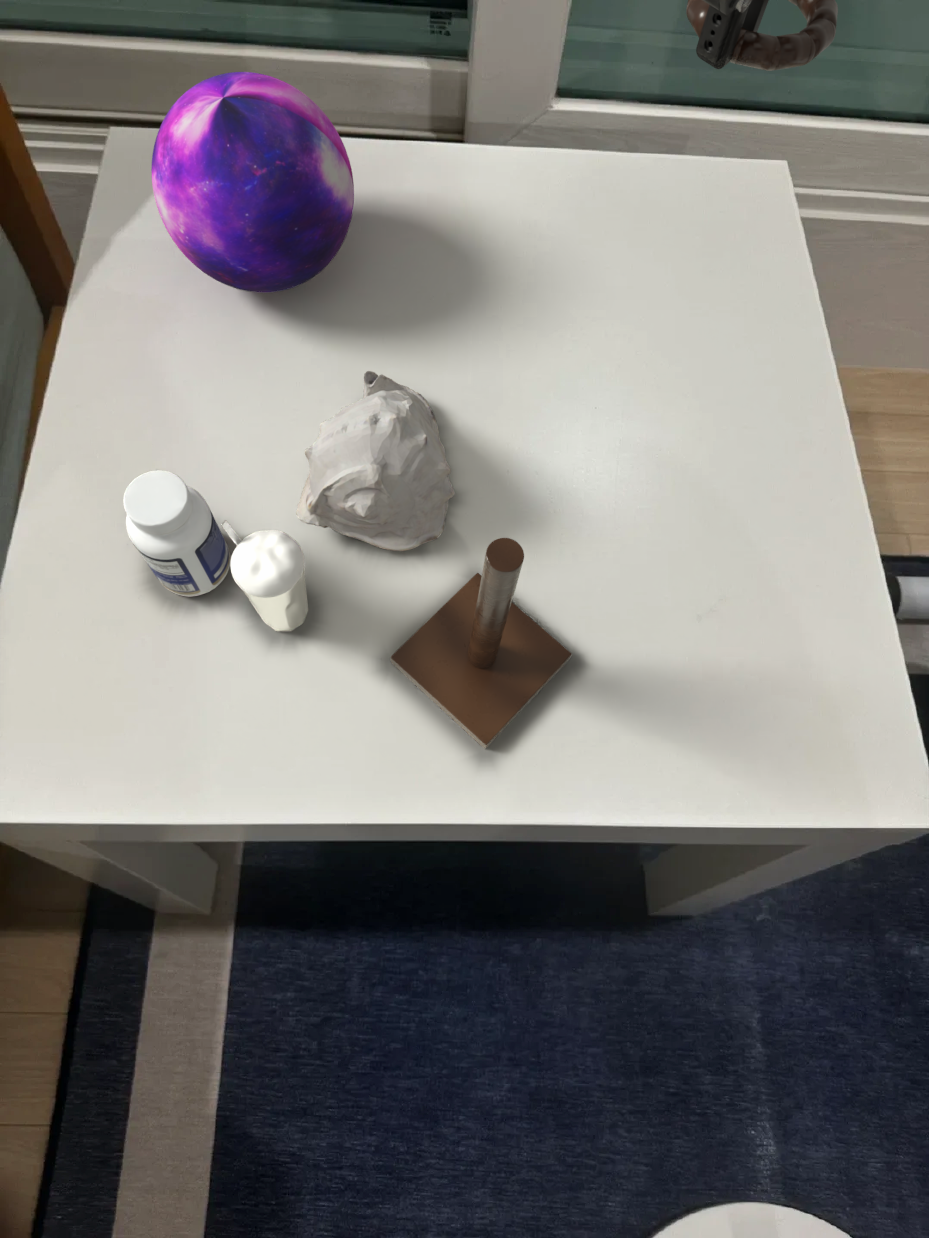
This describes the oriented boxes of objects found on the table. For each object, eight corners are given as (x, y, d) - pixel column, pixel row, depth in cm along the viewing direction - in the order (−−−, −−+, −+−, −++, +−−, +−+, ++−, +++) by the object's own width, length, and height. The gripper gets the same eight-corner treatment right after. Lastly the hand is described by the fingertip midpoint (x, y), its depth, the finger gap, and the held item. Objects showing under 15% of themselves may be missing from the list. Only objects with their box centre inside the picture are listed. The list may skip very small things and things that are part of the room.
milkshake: (272, 564, 62) (247, 495, 53) (330, 605, 61) (315, 542, 52) (230, 610, 61) (197, 548, 51) (289, 653, 60) (266, 597, 50)
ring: (741, -41, 58) (750, -71, 57) (857, 29, 56) (870, 0, 55) (655, 21, 55) (662, -8, 54) (774, 98, 53) (785, 70, 52)
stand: (476, 578, 63) (498, 449, 47) (569, 659, 61) (625, 553, 45) (390, 662, 60) (382, 555, 44) (484, 749, 58) (512, 670, 42)
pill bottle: (210, 518, 63) (176, 445, 54) (244, 575, 62) (216, 509, 53) (142, 553, 62) (96, 484, 53) (176, 611, 60) (134, 550, 51)
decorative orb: (181, 198, 74) (129, 23, 60) (354, 193, 76) (341, 22, 62) (178, 336, 69) (119, 180, 55) (364, 329, 70) (352, 174, 56)
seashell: (422, 388, 69) (424, 299, 59) (473, 538, 64) (483, 467, 55) (272, 420, 67) (249, 334, 57) (312, 577, 62) (295, 510, 53)
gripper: (834, -235, 36) (705, 135, 52) (996, -342, 40) (830, 31, 56) (693, -308, 37) (610, 73, 53) (863, -404, 42) (738, -24, 58)
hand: (723, 50), depth 55 cm, fingers closed on ring, 2 cm apart
